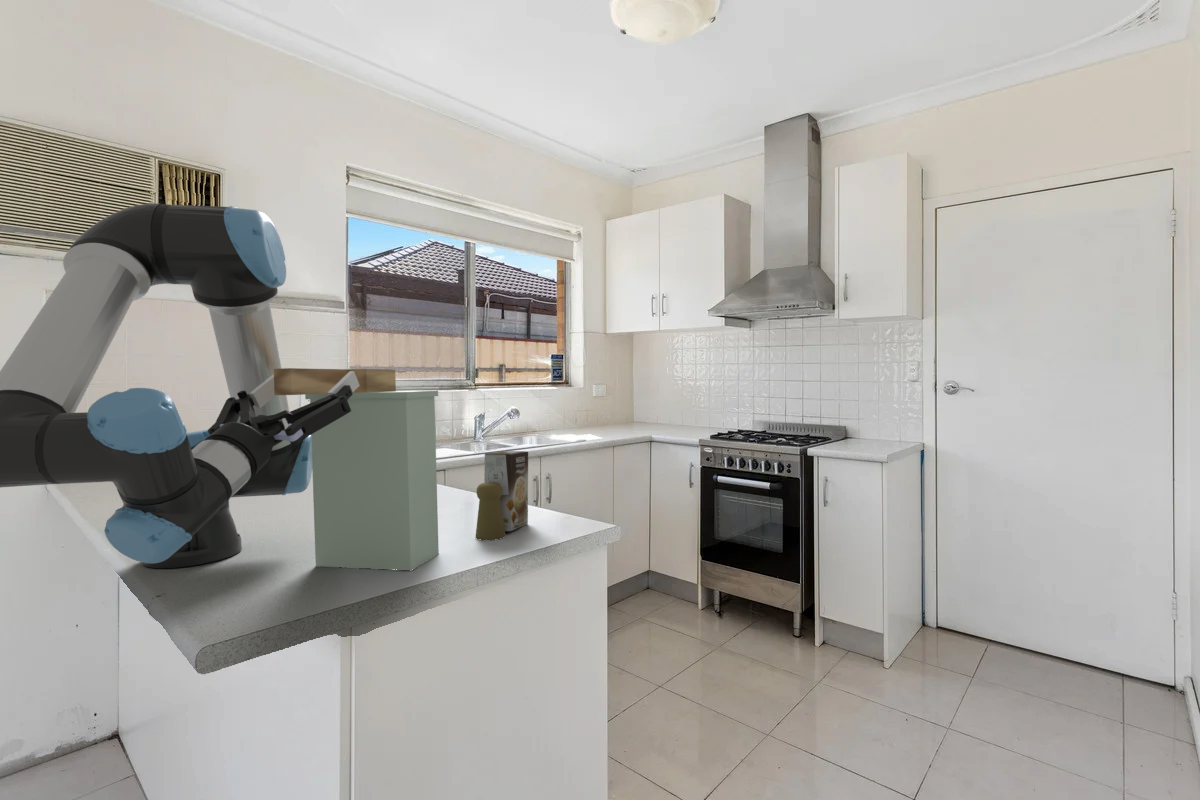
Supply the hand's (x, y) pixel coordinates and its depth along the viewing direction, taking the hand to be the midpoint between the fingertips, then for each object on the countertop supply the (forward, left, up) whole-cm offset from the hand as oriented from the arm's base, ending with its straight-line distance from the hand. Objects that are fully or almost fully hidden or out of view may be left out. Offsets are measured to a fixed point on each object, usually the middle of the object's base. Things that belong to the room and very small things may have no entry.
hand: (317, 378), depth 96 cm
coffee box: (+19, +34, -32) cm, 51 cm away
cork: (+18, +28, -33) cm, 46 cm away
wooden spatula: (0, +5, -2) cm, 5 cm away
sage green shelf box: (+4, +10, -32) cm, 34 cm away
